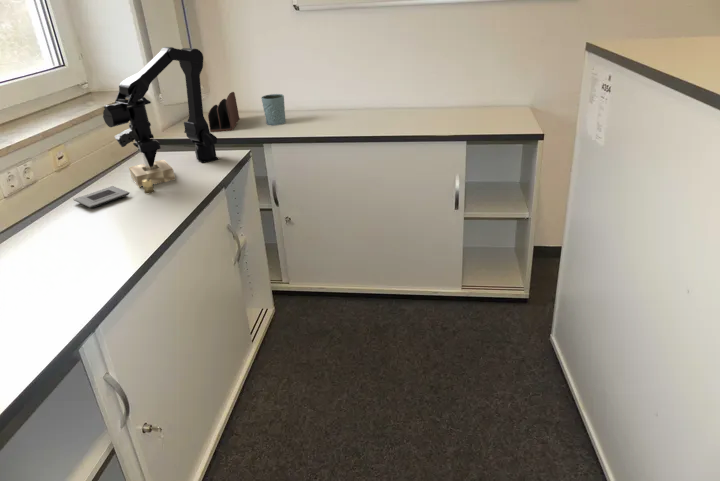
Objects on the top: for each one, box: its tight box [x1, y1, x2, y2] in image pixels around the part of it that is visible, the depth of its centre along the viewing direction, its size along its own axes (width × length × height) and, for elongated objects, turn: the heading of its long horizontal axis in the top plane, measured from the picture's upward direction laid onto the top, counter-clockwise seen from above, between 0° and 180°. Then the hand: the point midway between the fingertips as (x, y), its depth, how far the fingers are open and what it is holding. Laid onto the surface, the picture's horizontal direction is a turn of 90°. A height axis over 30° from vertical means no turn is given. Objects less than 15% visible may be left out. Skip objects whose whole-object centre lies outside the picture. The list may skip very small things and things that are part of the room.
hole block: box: [128, 159, 176, 188], centre depth 186 cm, size 12×12×4 cm
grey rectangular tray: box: [73, 185, 130, 209], centre depth 171 cm, size 13×10×2 cm
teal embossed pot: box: [260, 93, 286, 126], centre depth 243 cm, size 10×10×12 cm
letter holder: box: [207, 91, 240, 133], centre depth 243 cm, size 10×20×14 cm, turn 2°
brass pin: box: [142, 179, 155, 194], centre depth 175 cm, size 3×3×4 cm
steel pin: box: [141, 153, 155, 171], centre depth 185 cm, size 3×3×10 cm
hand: (149, 164), depth 185 cm, fingers open, 4 cm apart
